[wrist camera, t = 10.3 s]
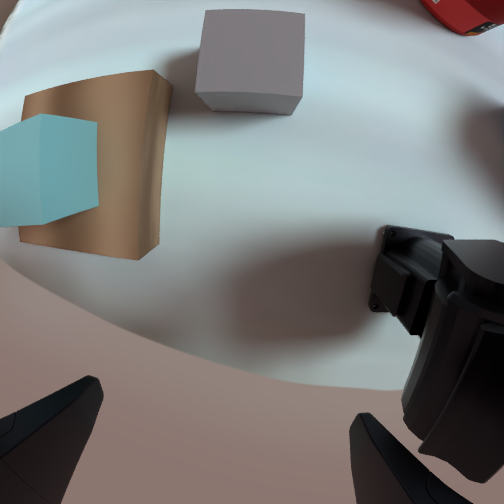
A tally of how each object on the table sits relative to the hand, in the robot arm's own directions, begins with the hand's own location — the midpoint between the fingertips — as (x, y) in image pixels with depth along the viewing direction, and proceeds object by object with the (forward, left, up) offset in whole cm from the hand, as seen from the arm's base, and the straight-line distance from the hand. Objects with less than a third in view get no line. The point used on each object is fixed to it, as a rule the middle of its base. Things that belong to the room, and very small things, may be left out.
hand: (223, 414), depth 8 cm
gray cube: (0, -13, -12) cm, 18 cm away
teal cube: (+11, -7, -8) cm, 16 cm away
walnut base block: (+12, -7, -12) cm, 18 cm away
